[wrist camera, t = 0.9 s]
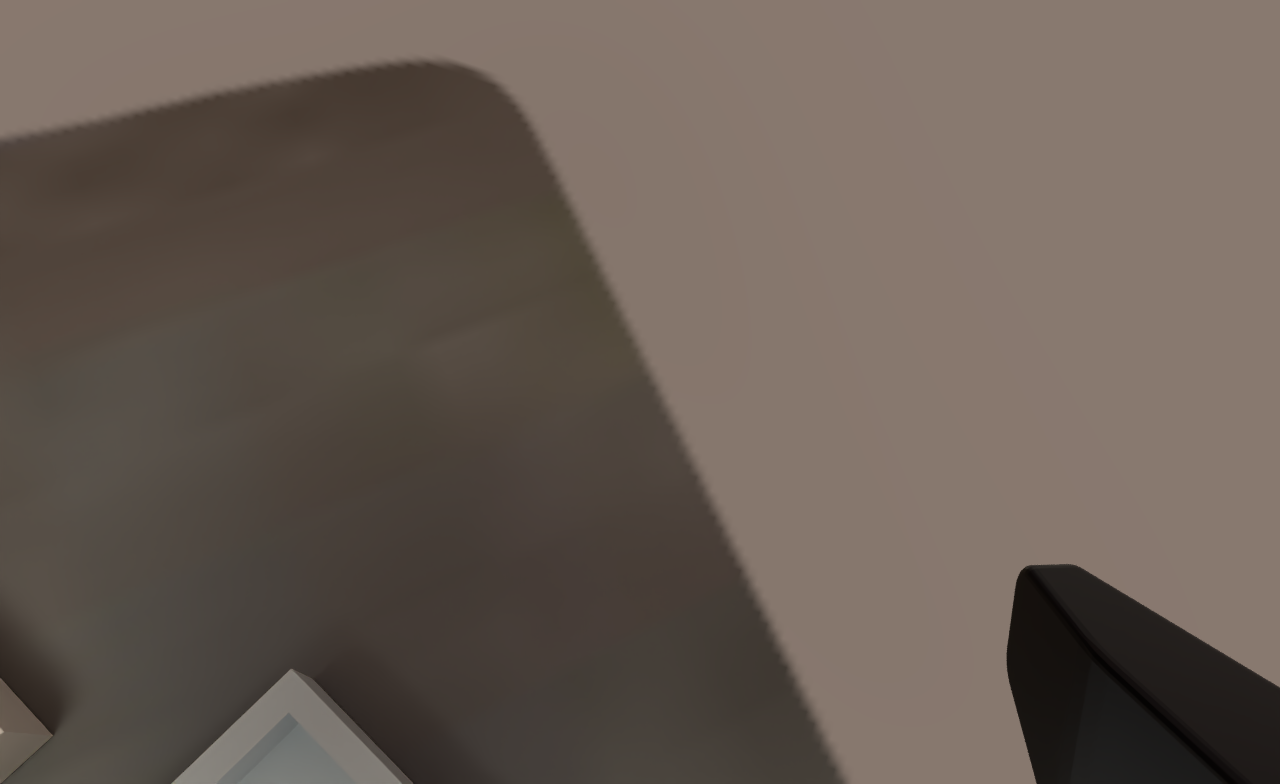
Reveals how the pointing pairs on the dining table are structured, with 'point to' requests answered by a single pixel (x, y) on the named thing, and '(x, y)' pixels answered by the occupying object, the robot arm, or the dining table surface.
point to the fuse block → (17, 732)
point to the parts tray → (294, 744)
